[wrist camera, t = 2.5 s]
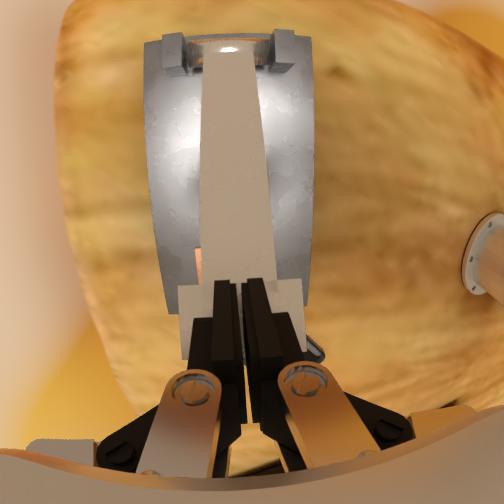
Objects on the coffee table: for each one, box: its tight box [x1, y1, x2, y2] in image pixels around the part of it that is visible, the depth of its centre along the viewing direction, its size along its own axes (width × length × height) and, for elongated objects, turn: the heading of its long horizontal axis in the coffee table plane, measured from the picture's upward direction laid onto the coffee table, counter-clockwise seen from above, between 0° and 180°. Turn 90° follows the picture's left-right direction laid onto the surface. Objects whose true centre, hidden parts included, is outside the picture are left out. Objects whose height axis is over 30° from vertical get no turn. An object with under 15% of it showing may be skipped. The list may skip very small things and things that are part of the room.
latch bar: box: [178, 38, 307, 360], centre depth 13 cm, size 18×5×2 cm
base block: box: [144, 29, 314, 314], centre depth 21 cm, size 22×12×8 cm, turn 1°
